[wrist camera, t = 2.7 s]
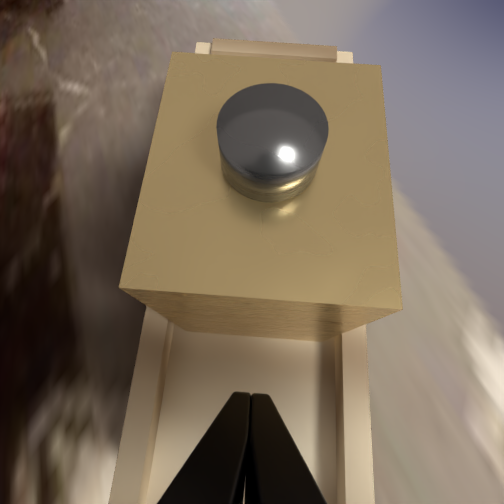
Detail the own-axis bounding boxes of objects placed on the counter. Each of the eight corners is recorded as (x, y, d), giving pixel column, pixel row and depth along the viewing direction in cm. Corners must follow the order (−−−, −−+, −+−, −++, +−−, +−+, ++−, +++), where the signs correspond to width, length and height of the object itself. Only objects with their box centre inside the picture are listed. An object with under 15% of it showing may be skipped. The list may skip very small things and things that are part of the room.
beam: (361, 509, 13) (392, 546, 10) (123, 488, 13) (90, 519, 11) (346, 90, 21) (360, 47, 19) (197, 80, 21) (189, 36, 19)
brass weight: (320, 342, 14) (433, 296, 6) (186, 331, 14) (93, 270, 6) (321, 203, 17) (399, 22, 8) (206, 195, 17) (161, 7, 8)
